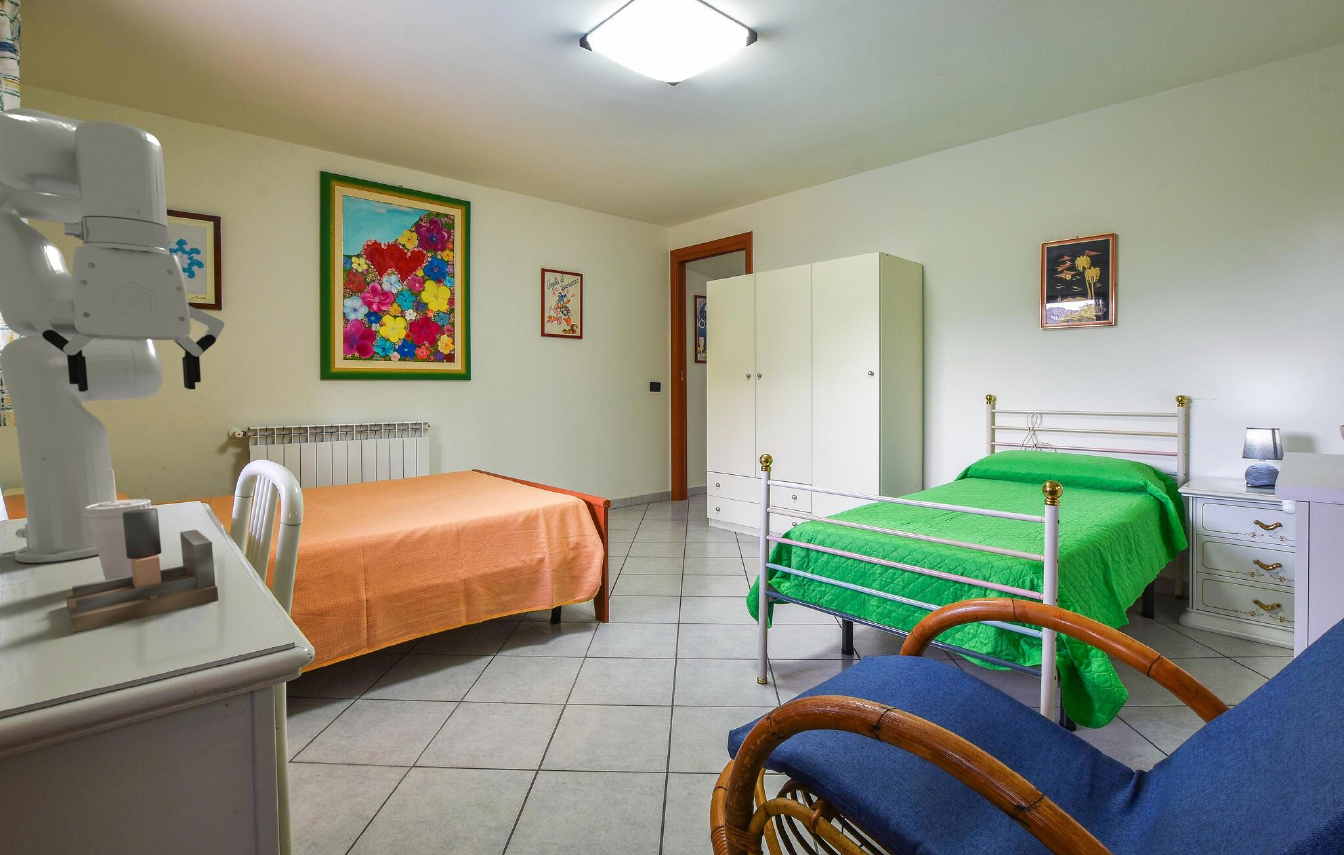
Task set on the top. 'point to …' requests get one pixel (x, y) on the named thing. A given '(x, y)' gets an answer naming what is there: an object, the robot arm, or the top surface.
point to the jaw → (143, 545)
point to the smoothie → (112, 531)
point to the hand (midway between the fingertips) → (138, 389)
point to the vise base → (147, 590)
